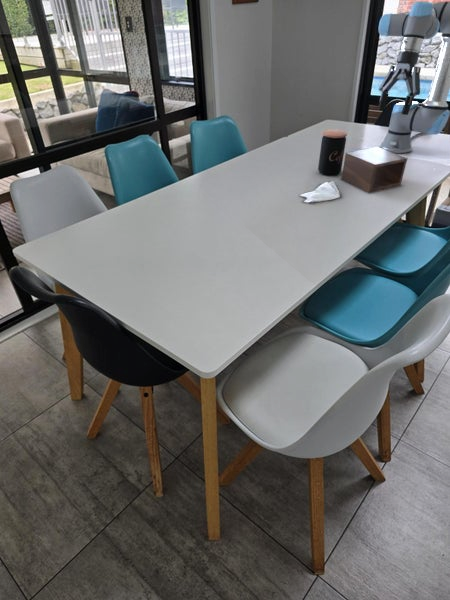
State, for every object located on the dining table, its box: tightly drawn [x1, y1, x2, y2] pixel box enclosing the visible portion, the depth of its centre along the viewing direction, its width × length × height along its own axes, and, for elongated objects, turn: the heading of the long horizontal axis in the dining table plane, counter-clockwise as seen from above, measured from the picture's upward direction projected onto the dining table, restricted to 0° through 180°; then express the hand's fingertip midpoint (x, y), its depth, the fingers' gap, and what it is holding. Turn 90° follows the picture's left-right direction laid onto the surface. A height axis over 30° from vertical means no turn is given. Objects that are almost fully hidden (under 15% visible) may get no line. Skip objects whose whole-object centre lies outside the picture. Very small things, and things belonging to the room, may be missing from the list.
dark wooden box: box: [340, 146, 408, 194], centre depth 180 cm, size 18×18×12 cm
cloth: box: [299, 180, 341, 204], centre depth 173 cm, size 26×14×2 cm, turn 136°
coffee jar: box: [317, 128, 348, 177], centre depth 189 cm, size 11×11×18 cm
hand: (392, 112), depth 166 cm, fingers open, 13 cm apart
